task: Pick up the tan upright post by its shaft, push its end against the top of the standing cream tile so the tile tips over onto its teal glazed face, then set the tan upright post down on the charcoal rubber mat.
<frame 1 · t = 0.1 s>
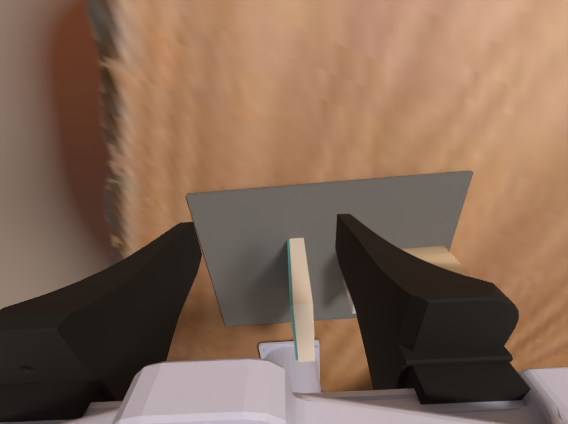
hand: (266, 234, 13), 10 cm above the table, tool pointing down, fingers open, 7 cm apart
tan upright post: (386, 259, 26), resting on mat
tile: (298, 265, 26), resting on mat
mat: (326, 260, 26), on the table
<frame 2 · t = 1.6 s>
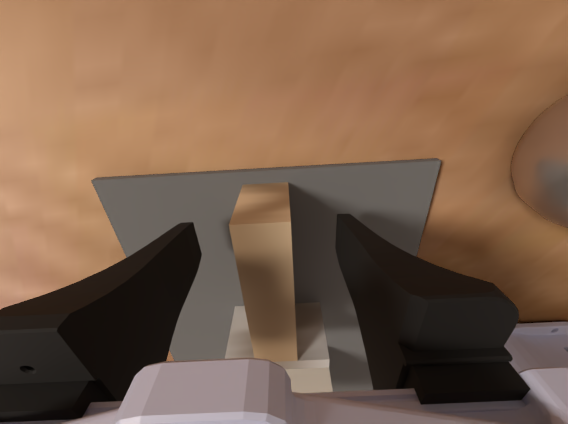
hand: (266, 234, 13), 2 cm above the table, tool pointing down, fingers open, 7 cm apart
tan upright post: (273, 265, 16), resting on mat
tile: (281, 351, 20), resting on mat
plastic bottle: (554, 140, 13), on the table
mat: (279, 323, 19), on the table
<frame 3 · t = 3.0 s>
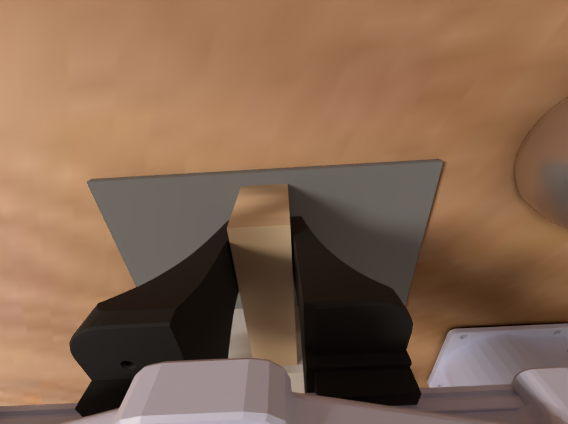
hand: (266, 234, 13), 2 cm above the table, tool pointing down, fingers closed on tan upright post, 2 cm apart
tan upright post: (272, 267, 16), resting on mat, touching gripper
plastic bottle: (558, 141, 13), on the table
mat: (279, 325, 19), on the table
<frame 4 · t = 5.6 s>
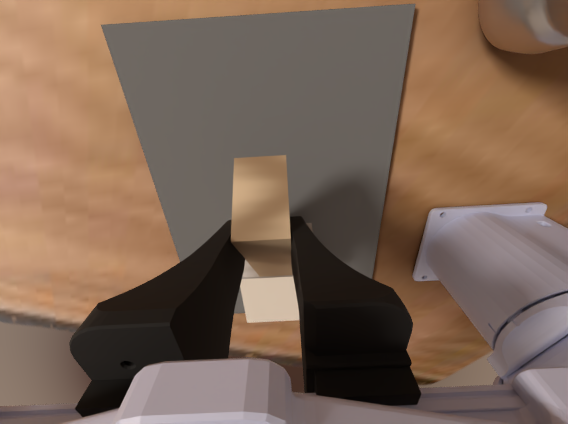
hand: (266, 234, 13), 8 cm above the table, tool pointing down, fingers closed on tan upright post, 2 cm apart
tan upright post: (270, 206, 17), point 4 cm above the table, tilted 38°, touching gripper
tile: (276, 252, 21), point 1 cm above the table, tilted 90°, touching mat
mat: (273, 205, 21), on the table
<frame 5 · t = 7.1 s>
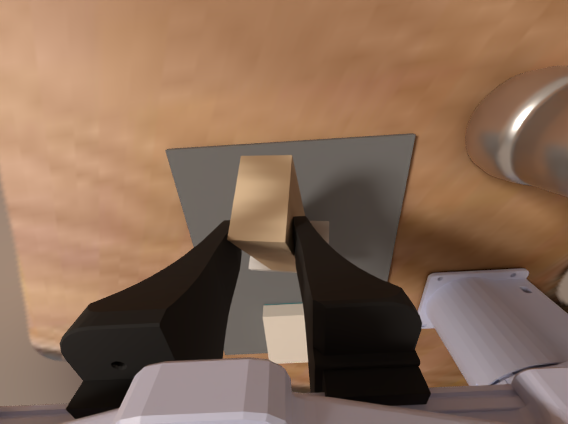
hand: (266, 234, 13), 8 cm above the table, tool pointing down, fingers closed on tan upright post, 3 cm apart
tan upright post: (284, 202, 17), point 4 cm above the table, tilted 41°, touching gripper, mat
tile: (297, 309, 25), point 1 cm above the table, tilted 90°, touching mat
plastic bottle: (497, 120, 18), on the table
mat: (295, 270, 24), on the table
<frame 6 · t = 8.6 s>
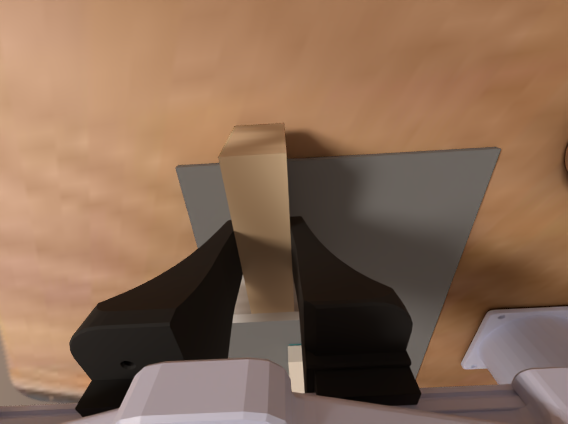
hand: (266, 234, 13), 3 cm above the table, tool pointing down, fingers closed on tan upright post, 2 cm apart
tan upright post: (269, 218, 15), point 1 cm above the table, touching gripper, mat
tile: (329, 352, 21), point 1 cm above the table, tilted 90°, touching mat
mat: (328, 307, 20), on the table
when the fingers open (3 cm above the table, at t = 8.8 s): tan upright post stays where it is, resting on mat.
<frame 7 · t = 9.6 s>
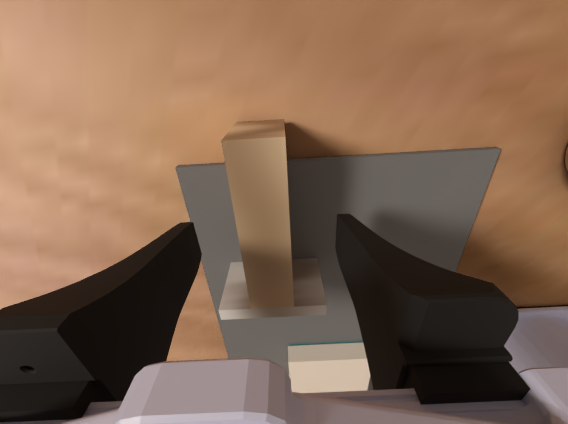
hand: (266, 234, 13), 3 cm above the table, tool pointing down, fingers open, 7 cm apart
tan upright post: (269, 215, 15), resting on mat
tile: (329, 351, 21), point 1 cm above the table, tilted 90°, touching mat
mat: (328, 307, 20), on the table
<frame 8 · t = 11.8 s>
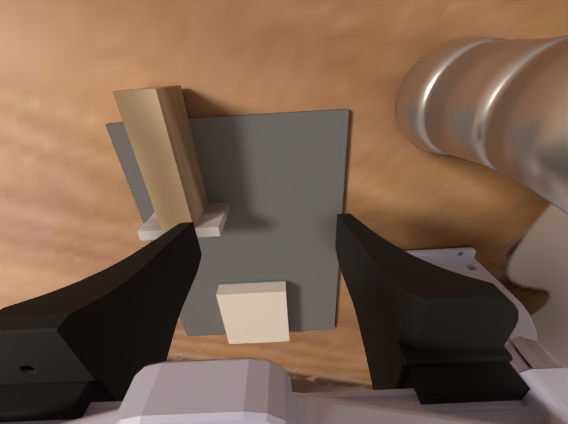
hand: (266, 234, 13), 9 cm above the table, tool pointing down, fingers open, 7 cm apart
tan upright post: (183, 164, 20), resting on mat
tile: (251, 287, 25), point 1 cm above the table, tilted 90°, touching mat
plastic bottle: (429, 96, 18), on the table
mat: (248, 249, 25), on the table
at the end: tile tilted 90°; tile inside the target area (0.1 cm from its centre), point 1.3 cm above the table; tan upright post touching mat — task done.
